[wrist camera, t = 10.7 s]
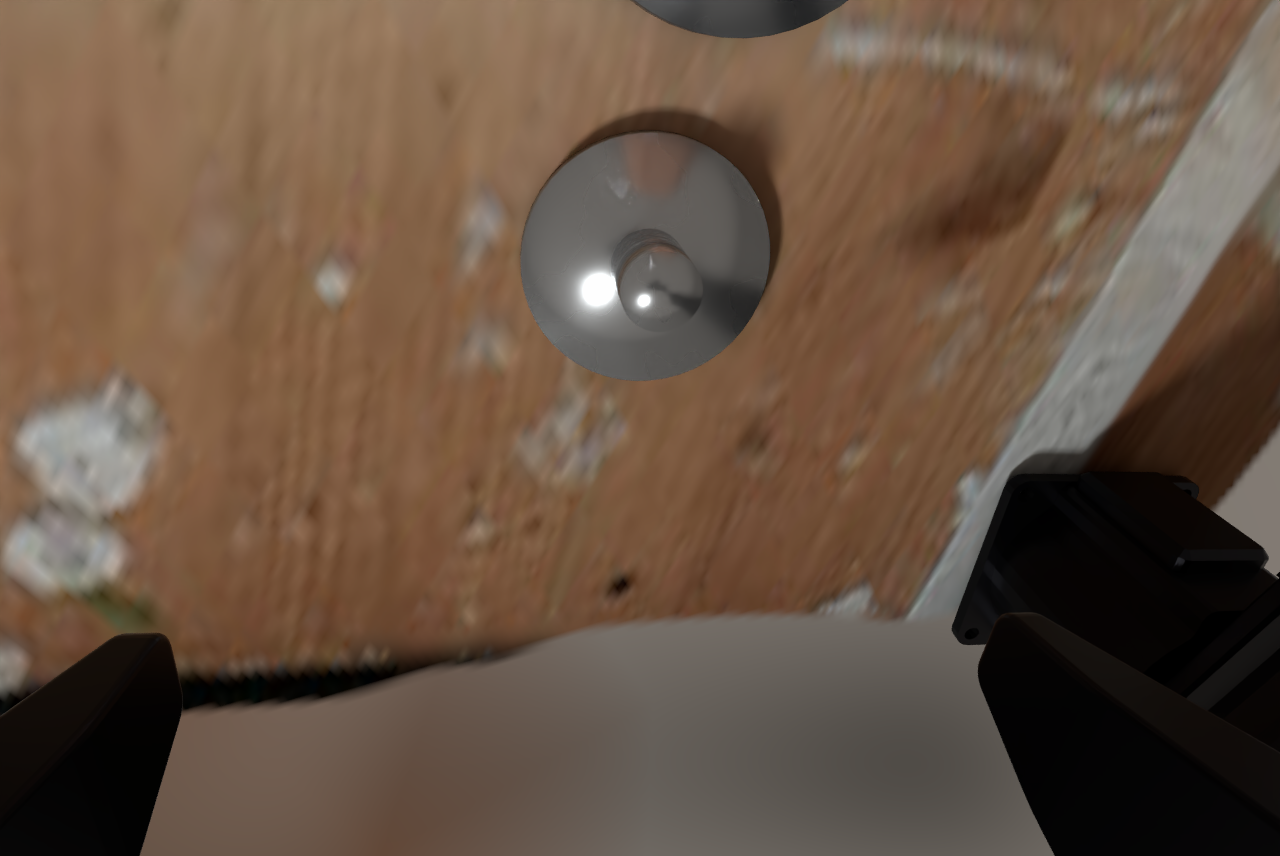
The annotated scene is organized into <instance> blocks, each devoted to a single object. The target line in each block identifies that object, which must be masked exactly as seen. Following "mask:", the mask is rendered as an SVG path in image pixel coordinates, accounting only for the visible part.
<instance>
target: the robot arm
mask: <svg viewBox="0 0 1280 856" xmlns="http://www.w3.org/2000/svg"><path fill="white" fill-rule="evenodd" d="M1024 489H1025V491H1024V492H1023V493H1021V494H1020V492H1021V491H1022V490H1024ZM1198 493H1199V488H1198V486H1197V485H1196V484H1195V483H1193V482H1192V481H1191V480H1189V479H1188V478H1186V477H1183V476H1163V475H1161V474H1159V473H1156V472H1087V473H1084V474H1081V475H1070V474H1021V475H1017V476H1015V477H1013V478H1012V479H1010V480H1009V481H1008V482H1007V484H1006V485H1005V487H1004V489H1003V492H1002V495H1001V497H1000V500H999V503H998V505H997V508H996V511H995V513H994V516H993V519H992V521H991V524H990V527H989V529H988V532H987V535H986V537H985V540H984V543H983V545H982V548H981V551H980V553H979V556H978V558H977V561H976V564H975V566H974V569H973V572H972V574H971V577H970V580H969V582H968V585H967V588H966V590H965V593H964V596H963V598H962V601H961V604H960V606H959V609H958V612H957V614H956V617H955V620H954V622H953V625H952V632H953V634H954V635H955V637H956V638H957V640H958V641H959V642H960V643H961V644H964V645H981V644H986V646H985V649H984V651H983V654H982V656H981V659H980V661H979V664H978V678H979V683H980V686H981V689H982V692H983V694H984V696H985V699H986V701H987V704H988V706H989V709H990V711H991V714H992V716H993V719H994V721H995V723H996V726H997V728H998V731H999V733H1000V736H1001V738H1002V741H1003V743H1004V745H1005V748H1006V750H1007V753H1008V755H1009V758H1010V760H1011V763H1012V765H1013V768H1014V770H1015V772H1016V775H1017V777H1018V780H1019V782H1020V785H1021V787H1022V790H1023V792H1024V794H1025V796H1026V799H1027V801H1028V803H1029V805H1030V808H1031V810H1032V812H1033V814H1034V816H1035V818H1036V820H1037V822H1038V824H1039V826H1040V828H1041V830H1042V832H1043V834H1044V836H1045V838H1046V840H1047V842H1048V844H1049V846H1050V848H1051V849H1052V851H1053V853H1054V855H1055V856H1280V572H1279V573H1278V574H1277V576H1278V577H1279V579H1278V578H1277V577H1276V576H1274V575H1273V574H1271V573H1270V572H1269V571H1267V570H1266V569H1265V568H1264V566H1265V564H1266V563H1267V561H1268V559H1269V557H1268V555H1267V553H1266V551H1265V550H1264V548H1263V547H1261V546H1260V545H1259V544H1257V543H1256V542H1255V541H1253V540H1252V539H1251V538H1249V537H1248V536H1246V535H1245V534H1244V533H1242V532H1241V531H1239V530H1238V529H1236V528H1235V527H1234V526H1232V525H1231V524H1229V523H1228V522H1227V521H1225V520H1224V519H1222V518H1221V517H1220V516H1218V515H1217V514H1216V513H1214V512H1213V511H1211V510H1210V509H1209V508H1207V507H1206V506H1204V505H1203V504H1202V503H1200V502H1199V501H1197V500H1196V498H1197V496H1198ZM182 704H183V697H182V689H181V685H180V681H179V677H178V673H177V668H176V664H175V660H174V656H173V652H172V647H171V644H170V642H169V640H168V638H167V637H166V636H165V635H163V634H161V633H126V634H120V635H117V636H115V637H113V638H111V639H109V640H108V641H106V642H105V643H104V644H102V645H101V646H99V647H98V648H97V649H95V650H94V651H92V652H91V653H89V654H88V655H87V656H85V657H84V658H82V659H81V660H80V661H78V662H77V663H75V664H74V665H72V666H71V667H70V668H68V669H67V670H65V671H64V672H62V673H61V674H60V675H58V676H57V677H55V678H54V679H53V680H51V681H50V682H48V683H47V684H45V685H44V686H43V687H41V688H40V689H38V690H37V691H36V692H34V693H33V694H31V695H30V696H28V697H27V698H26V699H24V700H23V701H21V702H20V703H18V704H17V705H16V706H14V707H13V708H11V709H10V710H9V711H7V712H6V713H4V714H3V715H1V716H0V856H140V853H141V850H142V847H143V843H144V840H145V837H146V833H147V830H148V826H149V823H150V820H151V816H152V813H153V809H154V806H155V802H156V799H157V796H158V792H159V789H160V785H161V782H162V778H163V775H164V772H165V768H166V765H167V762H168V758H169V755H170V752H171V748H172V745H173V741H174V738H175V735H176V731H177V728H178V725H179V721H180V717H181V712H182Z"/></svg>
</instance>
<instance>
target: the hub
mask: <svg viewBox="0 0 1280 856" xmlns="http://www.w3.org/2000/svg"><path fill="white" fill-rule="evenodd" d="M631 1H632V2H634V3H635V4H636V5H638V6H639V7H641V8H642V9H643V10H645V11H646V12H648V13H650V14H651V15H653V16H655V17H657V18H659V19H661V20H663V21H665V22H667V23H668V24H671V25H674V26H677V27H679V28H682V29H685V30H688V31H691V32H695V33H700V34H705V35H711V36H716V37H728V38H753V37H762V36H770V35H774V34H778V33H782V32H786V31H789V30H793V29H796V28H798V27H801V26H803V25H806V24H808V23H810V22H813V21H815V20H817V19H819V18H821V17H823V16H824V15H826V14H828V13H829V12H831V11H833V10H835V9H836V8H838V7H840V6H841V5H842V4H844V3H845V2H846V1H848V0H631Z"/></svg>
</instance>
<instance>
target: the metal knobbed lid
mask: <svg viewBox="0 0 1280 856" xmlns="http://www.w3.org/2000/svg"><path fill="white" fill-rule="evenodd" d="M520 255H521V277H522V283H523V288H524V293H525V296H526V299H527V302H528V305H529V308H530V310H531V312H532V314H533V316H534V318H535V321H536V322H537V324H538V325H539V327H540V328H541V330H542V331H543V333H544V334H545V335H546V337H547V338H548V339H549V340H550V341H551V342H552V344H553V345H554V346H555V347H556V348H557V349H559V350H560V351H561V352H562V353H563V354H564V355H565V356H567V357H568V358H570V359H571V360H573V361H574V362H576V363H577V364H579V365H581V366H583V367H585V368H587V369H588V370H590V371H593V372H596V373H598V374H601V375H604V376H608V377H612V378H617V379H622V380H633V381H645V380H656V379H663V378H668V377H672V376H675V375H679V374H682V373H684V372H687V371H689V370H692V369H694V368H696V367H698V366H700V365H702V364H704V363H705V362H707V361H709V360H710V359H712V358H713V357H714V356H716V355H717V354H719V353H720V352H721V351H722V350H724V349H725V348H726V347H727V346H728V345H729V344H730V343H731V342H732V341H733V340H734V339H735V338H736V337H737V336H738V335H739V334H740V332H741V331H742V330H743V329H744V327H745V326H746V324H747V323H748V321H749V320H750V319H751V317H752V315H753V313H754V311H755V309H756V308H757V306H758V304H759V301H760V299H761V296H762V294H763V291H764V288H765V284H766V280H767V276H768V270H769V262H770V239H769V232H768V226H767V222H766V219H765V215H764V212H763V209H762V207H761V204H760V202H759V200H758V197H757V195H756V194H755V192H754V190H753V189H752V187H751V185H750V184H749V182H748V181H747V180H746V178H745V177H744V176H743V175H742V174H741V172H740V171H739V170H738V169H737V168H736V167H735V166H734V165H733V164H732V163H730V162H729V161H728V160H727V159H726V158H725V157H723V156H722V155H720V154H719V153H718V152H716V151H715V150H713V149H712V148H710V147H709V146H707V145H705V144H703V143H701V142H699V141H697V140H694V139H692V138H689V137H686V136H683V135H680V134H677V133H671V132H665V131H652V130H640V131H632V132H624V133H621V134H617V135H613V136H609V137H606V138H604V139H602V140H599V141H597V142H594V143H592V144H590V145H589V146H587V147H585V148H583V149H582V150H580V151H578V152H577V153H575V154H574V155H573V156H572V157H570V158H569V159H568V160H567V161H565V162H564V163H563V164H562V165H561V166H560V167H559V168H558V169H557V170H556V171H555V172H554V173H553V174H552V175H551V176H550V178H549V179H548V180H547V182H546V183H545V184H544V186H543V187H542V188H541V190H540V192H539V193H538V195H537V197H536V199H535V201H534V203H533V204H532V207H531V209H530V212H529V214H528V217H527V220H526V223H525V227H524V231H523V236H522V243H521V253H520Z"/></svg>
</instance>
